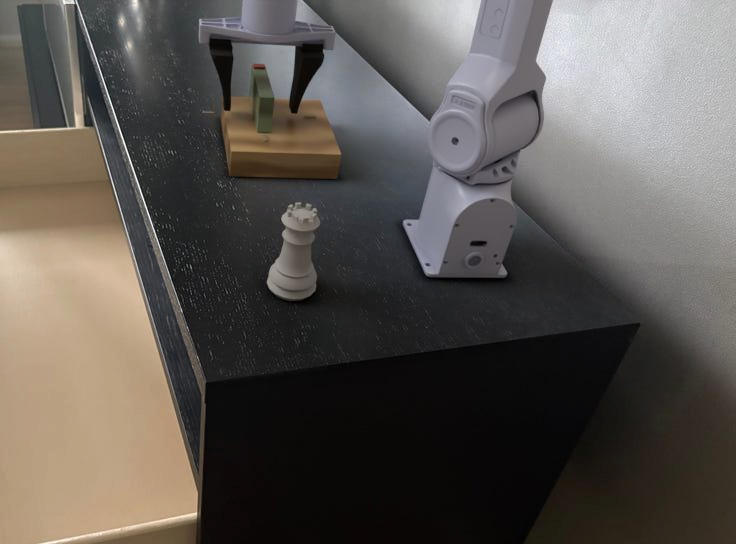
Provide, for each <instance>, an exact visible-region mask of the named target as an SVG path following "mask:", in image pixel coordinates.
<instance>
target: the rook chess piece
mask: <svg viewBox="0 0 736 544" xmlns="http://www.w3.org/2000/svg"><path fill="white" fill-rule="evenodd" d="M280 220H281V222H282V224H283V225H284V227H285V229H284V230H283V231H282V234H281V236H282V238H283V242H282V243H283V245H282V247H281V250H280V254H279V256H278V257H277V258H276V259H275V261H274V263H272V265H271V266H270V268H269V270H268V276H267V280H266V284H267V286H268V289H269V291H271V293H272V294H273V295H274V296H276V297H277V298H279V299H281V300H284V301H290V302H297V301H299V302H300V301H302V300H305V299H308V298H309V297H311V296H312V295H313V293H315V292H316V290H317V280H318V274H317V271H316V269H315V266H314V264H313V262H312V261H313V260H312V243H313V242H314V241H315V239H316V235H315V233H314V231H315V230H316V229H317V228H319V226H321V220H320V218H319V217H318V210H317V208H316V207H313V205H312V204H311V203H306V204H305V206H304V207H302V202H301V201H300V202H299V201H298V202H295V203H294V205H293V204H289V205H288V206H287V209H286V211H285V212H284V213H283V214H282V215H281V219H280Z"/></svg>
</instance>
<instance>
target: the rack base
mask: <svg viewBox="0 0 736 544" xmlns="http://www.w3.org/2000/svg"><path fill="white" fill-rule="evenodd" d="M274 98H275V100H274V109H273V119H272V128H271V133H267V132H257V130H256V126H255V121H254V117H253V113H252V108H251V104H250V100H249V96H231V110H230V111H224V107H223V95H222V96H221V106H220V107H221V108H220V124H221V131H222V136H223V143H224V149H225V156H226V157H225V158H226V163H227V169H228V176H229V177H237V178H238V177H240V178H279V179H280V178H281V179H282V178H283V179H313V180H314V179H315V180H316V179H317V180H318V179H321V180H338V178H339V172H340V167H341V162H342V156H343V154H342V152H341V148H340V146H339V144H338V141H337V139H336V136H335V134H334V132H333V129H332V126H331V124H330V122H329V119H328V116H327V114H326V111H325V108H324V106H323V103H322V101H321V99H303V98H302V100H301V103H300V105H299V109H298V112H297V114H293V113H291V111H290V107H289V99H290V98H279V97H278V98H276V97H274ZM215 113H216V112H215V111H207V110H205V111H204V110H202V112H201V114H202V115H215Z"/></svg>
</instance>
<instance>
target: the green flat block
mask: <svg viewBox="0 0 736 544" xmlns="http://www.w3.org/2000/svg"><path fill="white" fill-rule="evenodd" d="M250 71H251V72H250V80H249V81H250V82H249V95H248V97H249V100H250V104H251V108H252V113H253V117H254V121H255V126H256V130H257V132H267V133H271V128H272V119H273V109H274V100H275V98H276V97H275V94H274V91H273V87H272V84H271V81H270V76H269V74H268V71H267V67H266V65H265V63H253V64H252V65H251V69H250Z"/></svg>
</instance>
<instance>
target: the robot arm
mask: <svg viewBox="0 0 736 544" xmlns="http://www.w3.org/2000/svg"><path fill="white" fill-rule="evenodd" d="M298 2H299V0H242V5H241V16H236V17H234V16H233V17H221V18H199V19H198V42H199V44H201V45H208V48H209V55H210V57H211V60H212V61H213V62H212V63H213V65H214V67H215V70H216V73H217V77H218V79H219V82H220V86H221V87H220V88H221V91H222V96H223V107H224V111H230V110H231V97H232V76H233V67H234V59H235V58H234V53H233V49H234V47H233V44H248V45H267V46H285V47H294V63H293V75H292V81H291V86H290V92H289V98H288V99H289V107H290V111H291V113H293V114H297V112H298V109H299V105H300V103H301V100H302V99H303V98H304V96H305V93H306V91H307V89H308V87H309V85H310V83H311V82H312V80H313V78H314V76H315V75H316V74H317V73H318V71H319V69H320V68H321V67H322V66H323V63H324V61H325V53H324V50H325V51H334V47H335V40H336V33H337V32H336V30H335V28H334V26H333V25H324V24H317V23H311V22H305V21H300V20H297V19H296V18H297V9H298ZM553 2H554V0H480V4H479V8H478V12H477V17H476V21H475V26H474V30H473V35H472V40H471V43H470V47H469V52H468V54H467V56H466V58H465V59H464V61H463V62H462V64H461V65H460V66H458V69H457V70H456V71H455V72H454V74H453V75H452V77H451V78H450V80H449V81H448V83H447V85H446V88H445V92H444V97H443V100H442V102H441V104H440V106H439V107H438V109H437V110H436V111H435V113H434V114H432V117H431V118H430V120H429V123H428V125H427V130H426V131H427V132H426V142H427V143H426V144H427V147H428V151H429V154H430V156H431V158H432V160H433V162H432V164H431V165H432V169H431V172H430V176H429V180H428V184H427V188H426V192H425V195H424V199H423V203H422V206H421V210H420V214H419V217H418V219H404V220H403V221H402V226H403V228H404V230H405V233H406V235H407V237H408V240H409V242H410V244H411V246H412V249H413V250H414V252H415V254H416V257H417V259H418V262H419V264H420V266H421V268H422V270H423V273H424V274H425V276H426V277H428V278H467V279H468V278H472V279H473V278H474V279H475V278H476V279H477V278H479V279H480V278H481V279H483V278H485V279H504V278H506V277H507V276H508V272H507V270H506V268H505V266H504V264H503V262H504V259H505V256H506V253H507V250H508V247H509V246H510V242H511V239H512V236H513V235H514V232H515V229H516V226H517V221H518V214H517V211H516V208H515V206H514V203H513V199H512V183H513V180H514V176H515V173H516V171H517V168H518V167H517V166H518V160H519V157H520V154H521V150H525V149H526V148H529V147H530V146H531V145H532V144H533V143H534V142H535V141H536V140H537V139H538V137H539V136H540V134H541V132H542V130H543V127H544V122H545V110H544V105H543V93H544V88H545V85H546V81H547V75H546V73H545V71H544V70H543V69H542V68H541V67H540V65H539V64H538V62H537V58H538V54H539V52H540V47H541V44H542V40H543V37H544V35H545V34H544V33H545V30H546V27H547V24H548V20H549V16H550V12H551V9H552V6H553Z"/></svg>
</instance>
